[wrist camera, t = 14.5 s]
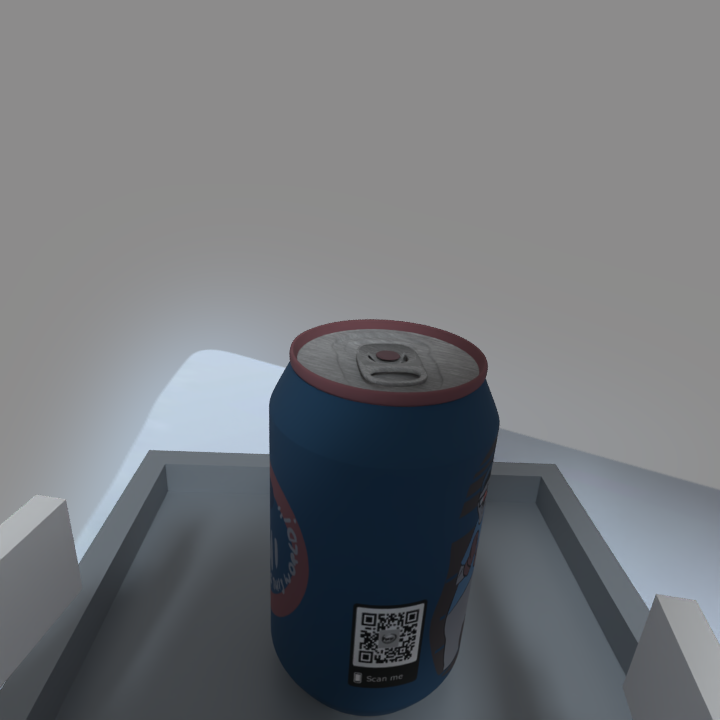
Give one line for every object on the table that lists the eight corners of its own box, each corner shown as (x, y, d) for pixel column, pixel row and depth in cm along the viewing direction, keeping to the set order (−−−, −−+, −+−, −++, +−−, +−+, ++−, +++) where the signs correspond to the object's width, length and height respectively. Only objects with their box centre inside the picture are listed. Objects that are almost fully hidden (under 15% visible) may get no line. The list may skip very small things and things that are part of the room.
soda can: (274, 577, 23) (272, 311, 18) (431, 571, 24) (467, 314, 19) (266, 748, 17) (260, 405, 12) (481, 730, 17) (554, 404, 13)
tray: (546, 501, 30) (555, 464, 29) (861, 1069, 12) (912, 1019, 11) (153, 489, 29) (149, 450, 28) (-173, 1092, 11) (-216, 1039, 10)
